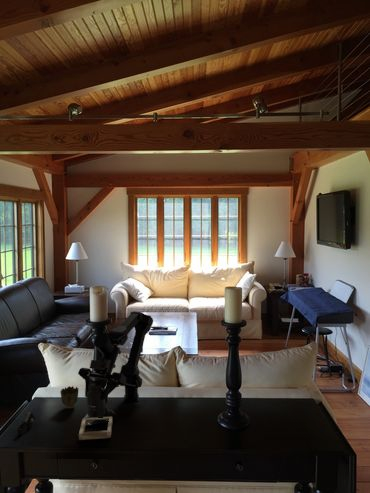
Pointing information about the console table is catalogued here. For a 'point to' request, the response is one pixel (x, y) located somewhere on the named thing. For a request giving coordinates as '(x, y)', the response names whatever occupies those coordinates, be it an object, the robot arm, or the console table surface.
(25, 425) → the lighter
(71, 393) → the potted succulent
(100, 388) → the supplement bottle
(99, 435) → the collar
